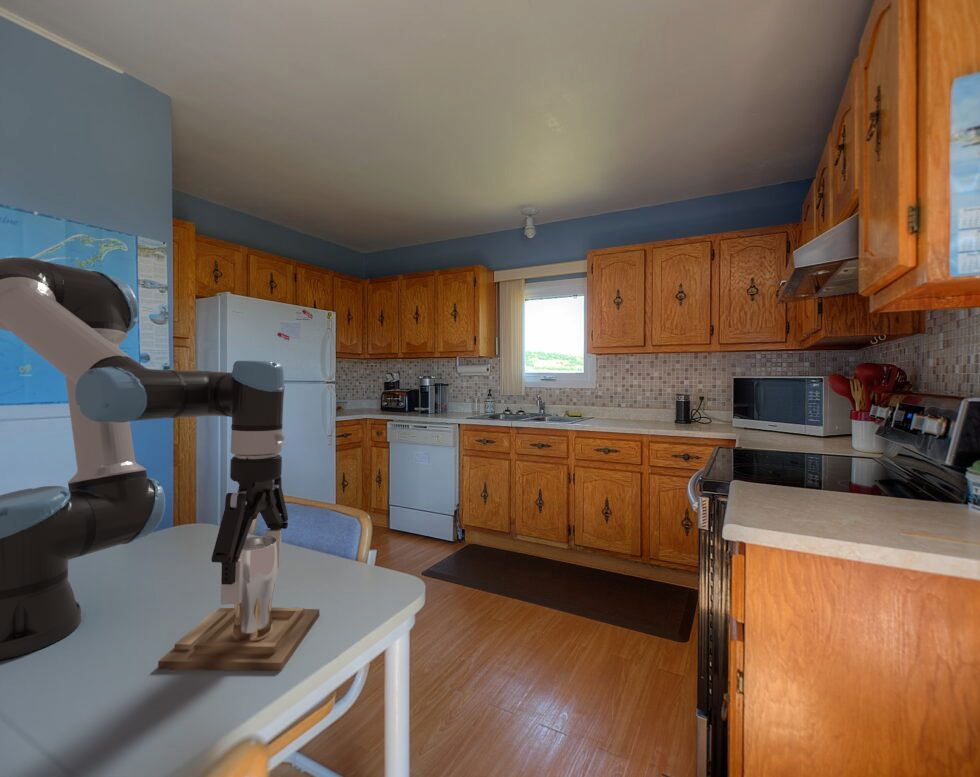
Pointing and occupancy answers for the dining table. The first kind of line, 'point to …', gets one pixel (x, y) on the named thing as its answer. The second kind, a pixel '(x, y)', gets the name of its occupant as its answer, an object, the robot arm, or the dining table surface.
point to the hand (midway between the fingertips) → (253, 583)
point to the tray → (220, 652)
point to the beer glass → (256, 590)
